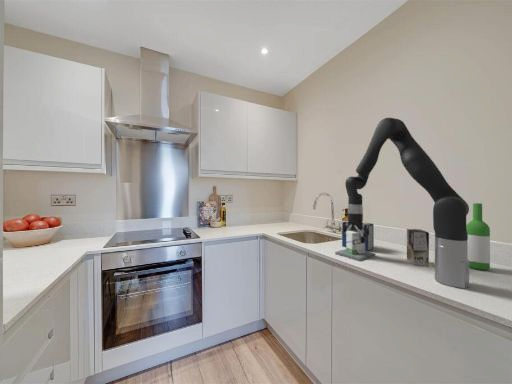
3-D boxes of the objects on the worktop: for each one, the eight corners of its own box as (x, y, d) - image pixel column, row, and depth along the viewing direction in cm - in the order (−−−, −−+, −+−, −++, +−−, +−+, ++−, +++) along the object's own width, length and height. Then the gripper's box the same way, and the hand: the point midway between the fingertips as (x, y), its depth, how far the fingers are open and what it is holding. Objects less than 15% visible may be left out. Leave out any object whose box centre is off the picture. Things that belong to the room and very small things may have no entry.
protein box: (349, 243, 139) (349, 220, 139) (373, 248, 127) (374, 223, 127) (341, 246, 132) (341, 222, 132) (366, 251, 120) (366, 225, 120)
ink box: (352, 254, 110) (352, 232, 110) (345, 251, 115) (345, 231, 115) (365, 253, 112) (365, 232, 112) (358, 250, 117) (358, 230, 117)
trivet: (375, 255, 112) (375, 253, 112) (359, 261, 104) (359, 258, 104) (351, 249, 124) (351, 247, 124) (335, 254, 115) (335, 251, 115)
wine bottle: (488, 272, 89) (488, 204, 89) (463, 267, 96) (463, 203, 96) (491, 269, 94) (491, 203, 94) (467, 264, 100) (467, 202, 100)
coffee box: (429, 266, 96) (429, 232, 96) (413, 265, 98) (413, 231, 98) (421, 260, 105) (421, 229, 105) (406, 259, 107) (406, 228, 107)
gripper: (371, 213, 110) (371, 243, 110) (347, 211, 122) (347, 238, 122) (364, 214, 106) (364, 245, 106) (339, 211, 118) (339, 240, 118)
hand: (355, 241), depth 114 cm, fingers open, 8 cm apart
